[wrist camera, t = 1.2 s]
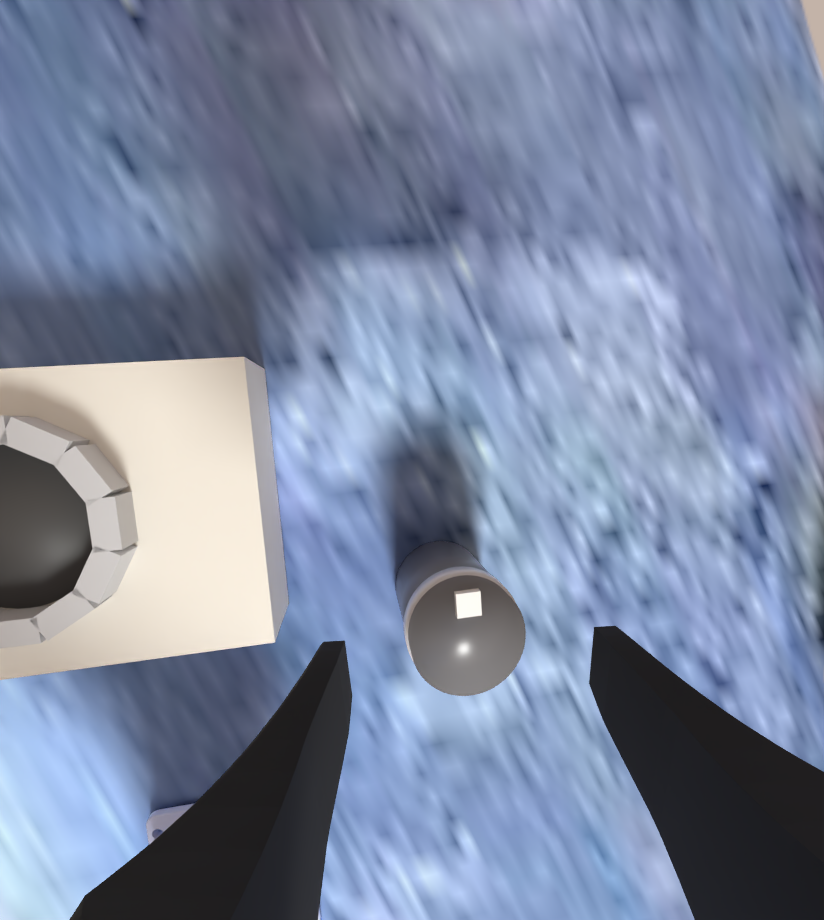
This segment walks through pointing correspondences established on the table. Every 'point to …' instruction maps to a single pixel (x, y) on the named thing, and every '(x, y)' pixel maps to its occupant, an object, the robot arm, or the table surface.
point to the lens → (458, 620)
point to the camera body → (136, 513)
